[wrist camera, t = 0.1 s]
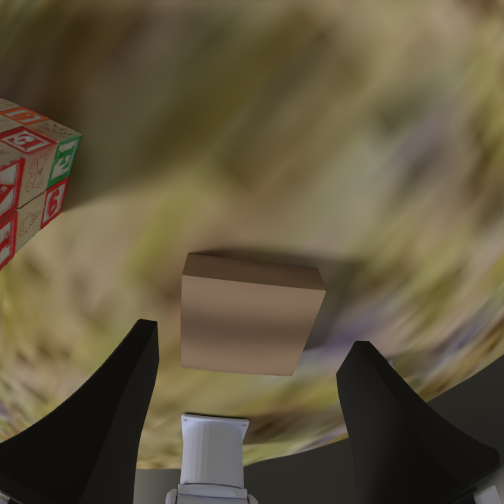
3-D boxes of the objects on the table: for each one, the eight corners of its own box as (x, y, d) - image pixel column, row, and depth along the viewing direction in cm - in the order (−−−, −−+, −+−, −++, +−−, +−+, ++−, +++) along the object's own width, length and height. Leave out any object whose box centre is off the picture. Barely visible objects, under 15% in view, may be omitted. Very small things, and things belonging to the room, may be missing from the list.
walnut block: (287, 349, 25) (292, 376, 23) (185, 340, 24) (181, 367, 22) (316, 265, 21) (326, 290, 18) (189, 250, 20) (182, 275, 17)
